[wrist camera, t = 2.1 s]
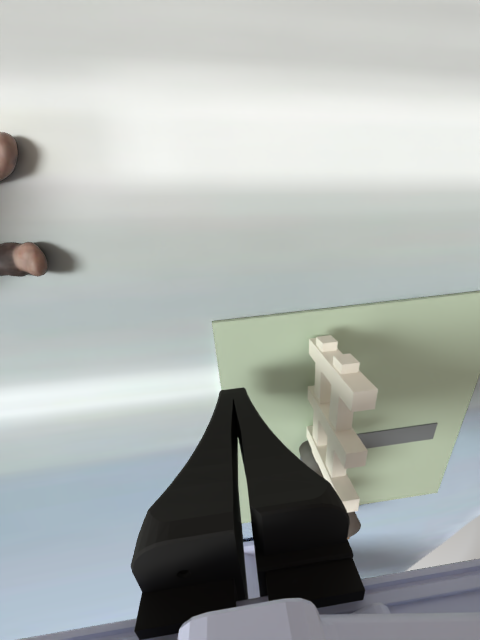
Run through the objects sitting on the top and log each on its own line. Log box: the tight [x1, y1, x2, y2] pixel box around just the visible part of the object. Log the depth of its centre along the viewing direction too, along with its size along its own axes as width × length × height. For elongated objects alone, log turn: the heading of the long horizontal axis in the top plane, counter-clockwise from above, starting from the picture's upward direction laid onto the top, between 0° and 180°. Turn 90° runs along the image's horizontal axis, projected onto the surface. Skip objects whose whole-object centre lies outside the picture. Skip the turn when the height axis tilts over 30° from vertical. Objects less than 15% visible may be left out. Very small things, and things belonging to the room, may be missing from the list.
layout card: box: [212, 291, 480, 523], centre depth 17 cm, size 19×18×1 cm
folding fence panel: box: [306, 335, 378, 513], centre depth 13 cm, size 9×1×5 cm, turn 5°
